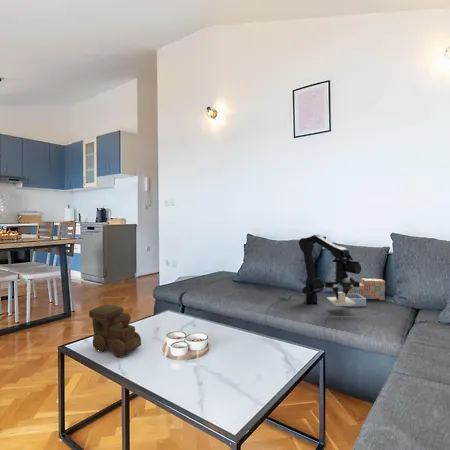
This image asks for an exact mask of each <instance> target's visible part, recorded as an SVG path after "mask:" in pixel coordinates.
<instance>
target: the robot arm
mask: <svg viewBox="0 0 450 450" xmlns="http://www.w3.org/2000/svg"><path fill="white" fill-rule="evenodd" d="M314 244H318V245H319V246H320V247H322V248H324V249H325V250H327V251H329V253H330V254H331V255H332V256H333V257H334V259H333V260H332V262H333V263H335V271H334V274H335V278H334V281H332V280H330V279H329V280H328V279H327V280H322V283H321V278H319V277H317V274H316V268H315V262H314V257H313V249H314ZM298 245H299V248H300V250H301V252H302V253H303V258H304V265H305V270H306V276H307V277H306V280H305V286H304V287H303V288H302V294H304V300H303V302H304V303H305V304H306V305H317V304H318V295H317V293H319V292H320V289H321V286H322V287H323V286H324V287H325V288H326V289H327V288H331V289H332V291H333V293H334V294H333V295H334V297H336V299H338V292H339V287H338V286H341V288H342V292H344V293H345V298H346V295H347V293H348V291H349V290H350V289H352V287H351V286H352V285H353V286H354V287H360V283H361V282H359V281H358V280H357V279H355V278H354V277H349V274H353V275H354V274H355V275H359V274H360V273H361V272H362V265H361V264H360V261H359V260H354V259H353V258H352V257H353V256H352V255H351V254H350V252H349V248H347V247H344V246H340V245H337V244H334V243H333V242H331V241H330V240H328V239H326V238H325V237H324V236H323V237H322V236H321V235H320V234H312V235H311V236H309V237H303V238H302V237H301V238H300V239H299V241H298ZM348 273H349V274H348Z"/></svg>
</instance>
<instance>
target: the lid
mask: <svg viewBox="0 0 450 450" xmlns="http://www.w3.org/2000/svg"><path fill="white" fill-rule="evenodd" d="M326 299H327V300H328V301H329V302H330V303H331V304H333V305H334V306H336V307H338V306H339V307H341V306H345V307H347V306H349V305H352V304H356V303H355V302H354V301H352V300H351V299H349V298H347V297H346V298H345V293H344V292H343V291H338V299H336V296H327V297H326Z"/></svg>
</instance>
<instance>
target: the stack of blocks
mask: <svg viewBox="0 0 450 450" xmlns="http://www.w3.org/2000/svg"><path fill="white" fill-rule="evenodd" d="M359 283H360V287H354V286H353V285H352V286H351V287H352V289H350V290H349V291H348V293H347V294H359V295H361V296H362V297H364V298H366V300H379V301H385V298H386V297H385V294H386V281H385V280H384V279H381V278H361V282H359Z"/></svg>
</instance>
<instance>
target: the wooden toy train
mask: <svg viewBox="0 0 450 450" xmlns="http://www.w3.org/2000/svg"><path fill="white" fill-rule="evenodd" d="M88 314H89V315H88V318H91V319H92V330H93V336H92V337H93V340H92V346H93V348H94V349H95V350H96V351H97V350H99V351H102V352H104V351H105V350H106V348H108V349H111V352H112V354H113V355H114V356H115V355H116V356H115V357H117V356H122V357H124V355H125V354H126V353H130V352H132V351H134V350H135V349H138V348H139V347H141V346H142V337H141V335H140V334H139V333H138V332H137V331H136V326H134V325H131V324H130V322H131V320H132V316H131V315H130V314H129V313H128V312H124V307H122V306H119V305H114V304H105V305H100V306H97V307H94V308H92V309H91V310H89V311H88Z"/></svg>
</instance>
